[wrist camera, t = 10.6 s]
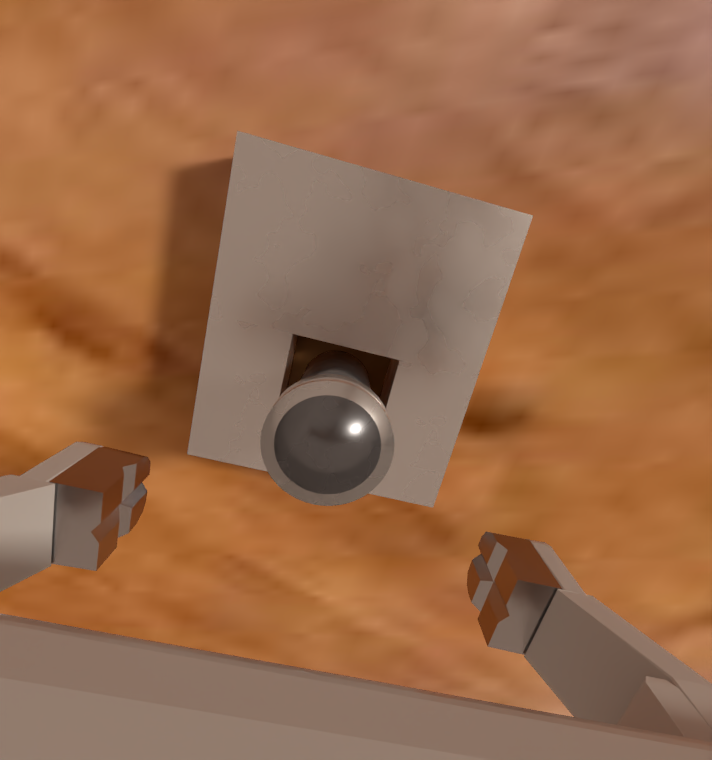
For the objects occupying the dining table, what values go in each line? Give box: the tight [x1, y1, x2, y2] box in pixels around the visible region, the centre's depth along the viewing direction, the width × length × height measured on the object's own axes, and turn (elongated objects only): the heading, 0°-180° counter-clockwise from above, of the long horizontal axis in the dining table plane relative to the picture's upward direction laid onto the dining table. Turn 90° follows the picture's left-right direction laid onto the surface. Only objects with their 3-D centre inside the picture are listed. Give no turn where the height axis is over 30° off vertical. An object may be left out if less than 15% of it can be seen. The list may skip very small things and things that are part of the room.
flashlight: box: [260, 351, 395, 506], centre depth 18 cm, size 5×5×9 cm
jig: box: [187, 131, 533, 507], centre depth 21 cm, size 16×14×3 cm
